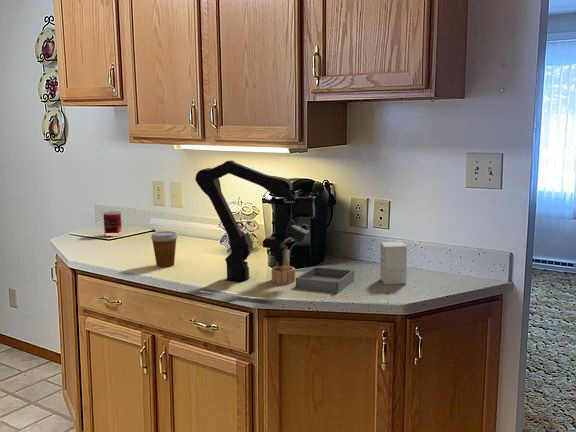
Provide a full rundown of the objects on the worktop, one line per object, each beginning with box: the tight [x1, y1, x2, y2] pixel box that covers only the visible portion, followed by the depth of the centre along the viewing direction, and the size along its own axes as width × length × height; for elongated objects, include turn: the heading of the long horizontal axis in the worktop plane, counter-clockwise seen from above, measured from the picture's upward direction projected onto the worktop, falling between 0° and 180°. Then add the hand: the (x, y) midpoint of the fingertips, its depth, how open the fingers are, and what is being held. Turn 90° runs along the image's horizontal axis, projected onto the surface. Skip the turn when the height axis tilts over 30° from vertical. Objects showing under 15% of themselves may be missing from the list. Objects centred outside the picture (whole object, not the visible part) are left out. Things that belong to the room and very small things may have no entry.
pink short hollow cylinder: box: [271, 266, 296, 285], centre depth 203 cm, size 8×8×4 cm
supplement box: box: [379, 241, 408, 285], centre depth 202 cm, size 7×7×13 cm
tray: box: [295, 266, 355, 294], centre depth 199 cm, size 14×16×4 cm
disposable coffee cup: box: [150, 230, 178, 268], centre depth 227 cm, size 10×10×12 cm
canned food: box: [103, 210, 122, 234], centre depth 286 cm, size 8×8×11 cm
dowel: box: [276, 249, 291, 271], centre depth 202 cm, size 4×4×10 cm
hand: (283, 264), depth 202 cm, fingers closed on dowel, 4 cm apart
